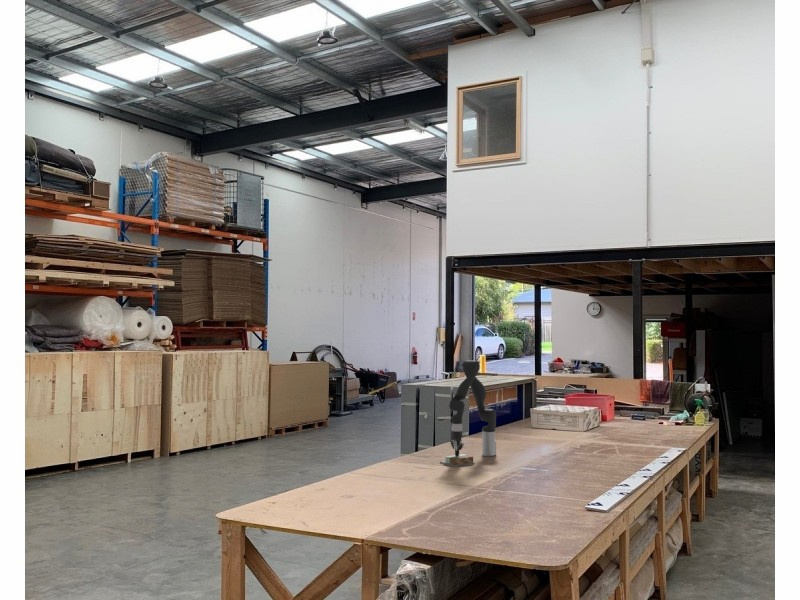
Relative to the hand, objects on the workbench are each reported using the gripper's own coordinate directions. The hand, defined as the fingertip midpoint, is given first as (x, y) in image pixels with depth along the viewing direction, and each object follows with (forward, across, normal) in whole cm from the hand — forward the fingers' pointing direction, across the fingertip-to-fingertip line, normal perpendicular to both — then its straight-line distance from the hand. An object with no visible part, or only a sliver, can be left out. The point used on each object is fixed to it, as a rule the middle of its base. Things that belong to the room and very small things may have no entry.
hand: (457, 455), depth 444 cm
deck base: (+5, 0, 0) cm, 5 cm away
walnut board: (+4, -5, 0) cm, 6 cm away
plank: (+4, +1, 0) cm, 4 cm away
